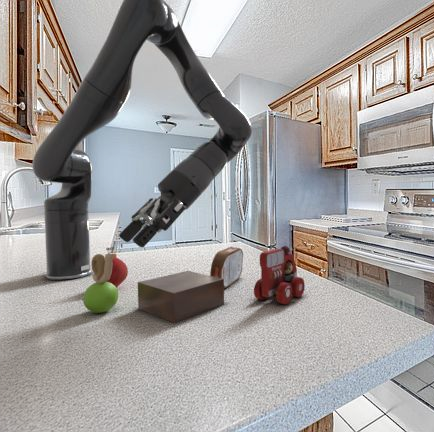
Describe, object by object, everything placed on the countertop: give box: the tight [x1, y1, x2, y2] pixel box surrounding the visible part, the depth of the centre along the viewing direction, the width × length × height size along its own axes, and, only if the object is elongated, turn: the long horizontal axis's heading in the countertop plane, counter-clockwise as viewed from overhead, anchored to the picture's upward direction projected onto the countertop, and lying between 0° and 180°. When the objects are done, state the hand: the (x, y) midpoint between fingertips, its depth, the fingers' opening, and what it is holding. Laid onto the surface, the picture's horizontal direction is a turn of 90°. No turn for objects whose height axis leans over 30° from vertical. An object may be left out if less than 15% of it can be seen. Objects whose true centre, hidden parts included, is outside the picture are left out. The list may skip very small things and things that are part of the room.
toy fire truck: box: [253, 245, 306, 305], centre depth 63 cm, size 7×12×10 cm, turn 149°
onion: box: [107, 252, 129, 289], centre depth 69 cm, size 6×6×8 cm
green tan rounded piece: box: [82, 246, 119, 314], centre depth 54 cm, size 5×6×12 cm
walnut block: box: [137, 270, 225, 324], centre depth 58 cm, size 11×11×5 cm
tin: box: [209, 246, 244, 289], centre depth 73 cm, size 15×3×8 cm, turn 169°
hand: (129, 241), depth 57 cm, fingers open, 8 cm apart
